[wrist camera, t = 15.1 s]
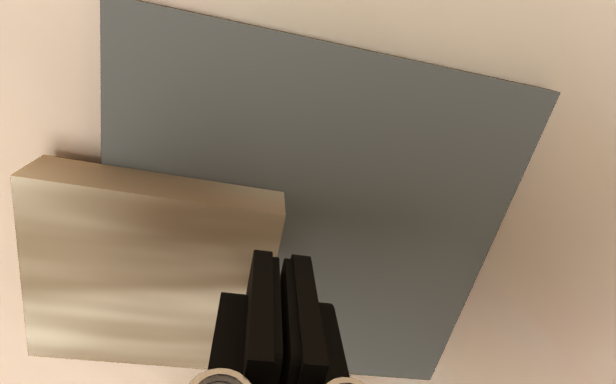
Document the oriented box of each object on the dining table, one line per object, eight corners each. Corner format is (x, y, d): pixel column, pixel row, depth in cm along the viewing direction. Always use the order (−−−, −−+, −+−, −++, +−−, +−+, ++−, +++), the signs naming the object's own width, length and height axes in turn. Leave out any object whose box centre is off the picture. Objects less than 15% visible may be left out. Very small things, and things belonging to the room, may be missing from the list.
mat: (549, 89, 14) (560, 92, 14) (425, 370, 20) (429, 380, 19) (108, -7, 12) (100, -8, 11) (108, 344, 17) (102, 355, 17)
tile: (9, 175, 11) (28, 355, 14) (285, 215, 12) (252, 372, 15) (43, 154, 13) (54, 319, 16) (283, 191, 14) (254, 337, 17)
